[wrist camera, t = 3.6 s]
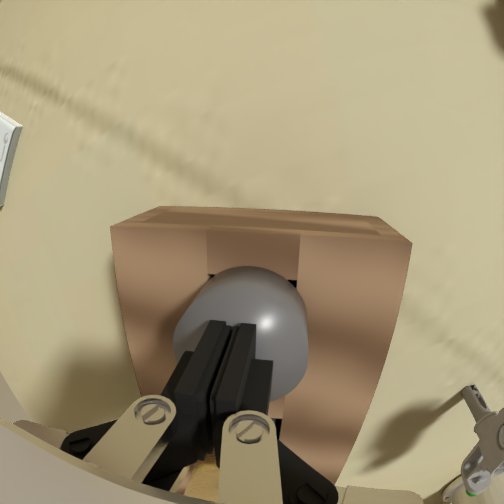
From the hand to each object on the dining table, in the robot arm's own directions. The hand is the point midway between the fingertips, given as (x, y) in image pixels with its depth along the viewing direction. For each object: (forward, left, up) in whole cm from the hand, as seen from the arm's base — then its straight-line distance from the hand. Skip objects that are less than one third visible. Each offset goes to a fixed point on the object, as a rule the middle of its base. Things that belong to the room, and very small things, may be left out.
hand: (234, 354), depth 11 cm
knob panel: (-9, 0, -9) cm, 13 cm away
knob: (0, 0, -8) cm, 8 cm away
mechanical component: (-11, -20, -9) cm, 25 cm away
